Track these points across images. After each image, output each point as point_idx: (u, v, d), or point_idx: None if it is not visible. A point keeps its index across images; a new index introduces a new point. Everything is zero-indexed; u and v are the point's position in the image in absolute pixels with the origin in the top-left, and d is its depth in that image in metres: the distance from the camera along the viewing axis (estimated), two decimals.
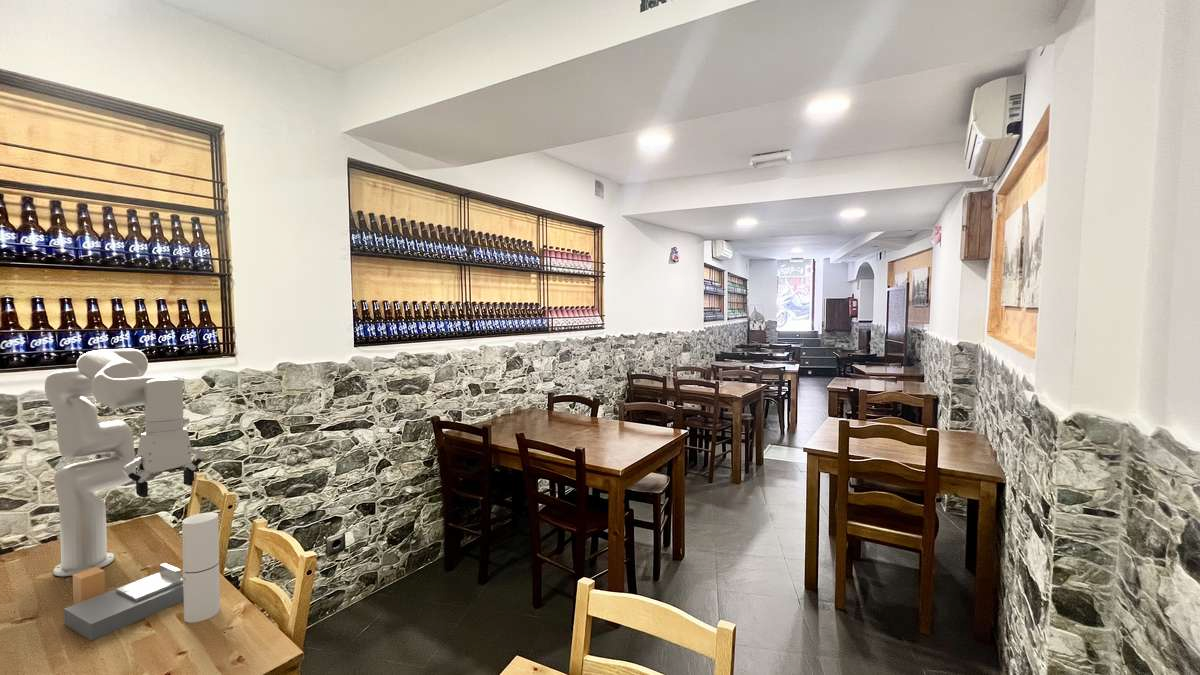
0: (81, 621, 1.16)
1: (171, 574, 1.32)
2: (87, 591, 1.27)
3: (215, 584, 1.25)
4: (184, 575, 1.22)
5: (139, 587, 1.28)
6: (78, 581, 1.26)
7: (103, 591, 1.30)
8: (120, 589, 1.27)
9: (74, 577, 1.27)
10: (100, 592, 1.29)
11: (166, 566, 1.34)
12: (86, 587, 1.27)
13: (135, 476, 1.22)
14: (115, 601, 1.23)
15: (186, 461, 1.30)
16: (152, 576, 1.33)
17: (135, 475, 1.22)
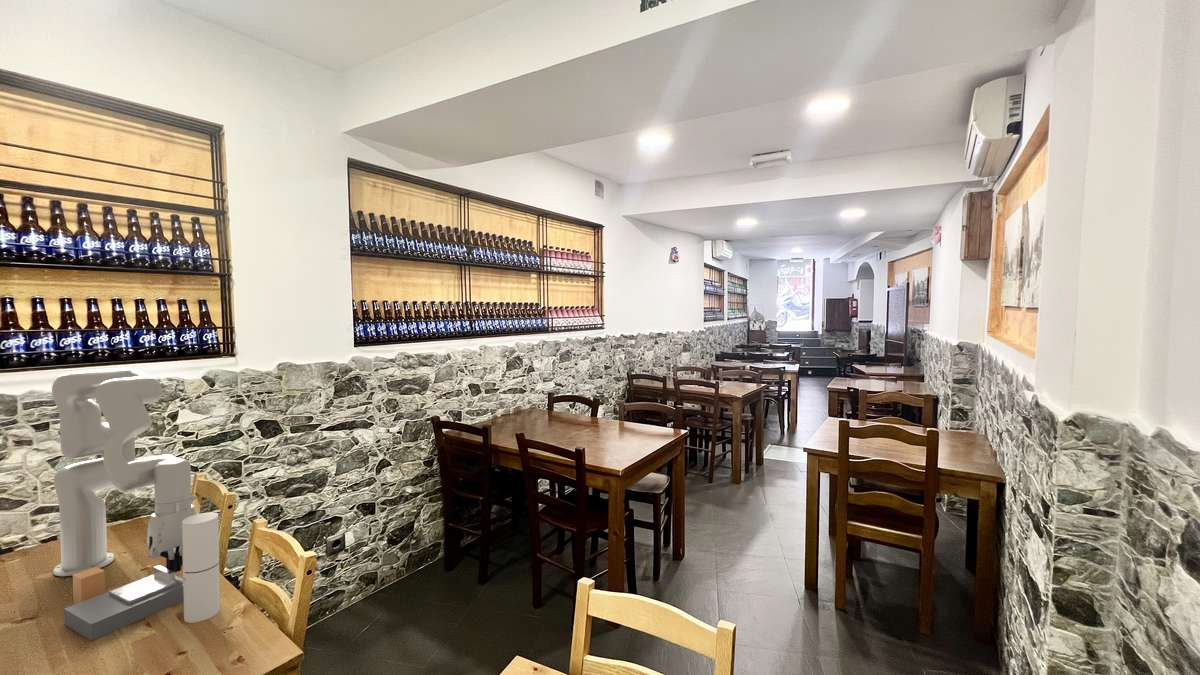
0: (81, 621, 1.16)
1: (165, 577, 1.31)
2: (87, 591, 1.27)
3: (215, 584, 1.25)
4: (184, 575, 1.22)
5: (133, 589, 1.27)
6: (78, 581, 1.27)
7: (103, 591, 1.30)
8: (113, 592, 1.26)
9: (74, 577, 1.27)
10: (100, 592, 1.30)
11: (160, 568, 1.33)
12: (86, 587, 1.27)
13: (166, 554, 1.32)
14: (115, 601, 1.23)
15: None
16: (146, 578, 1.32)
17: (166, 553, 1.32)
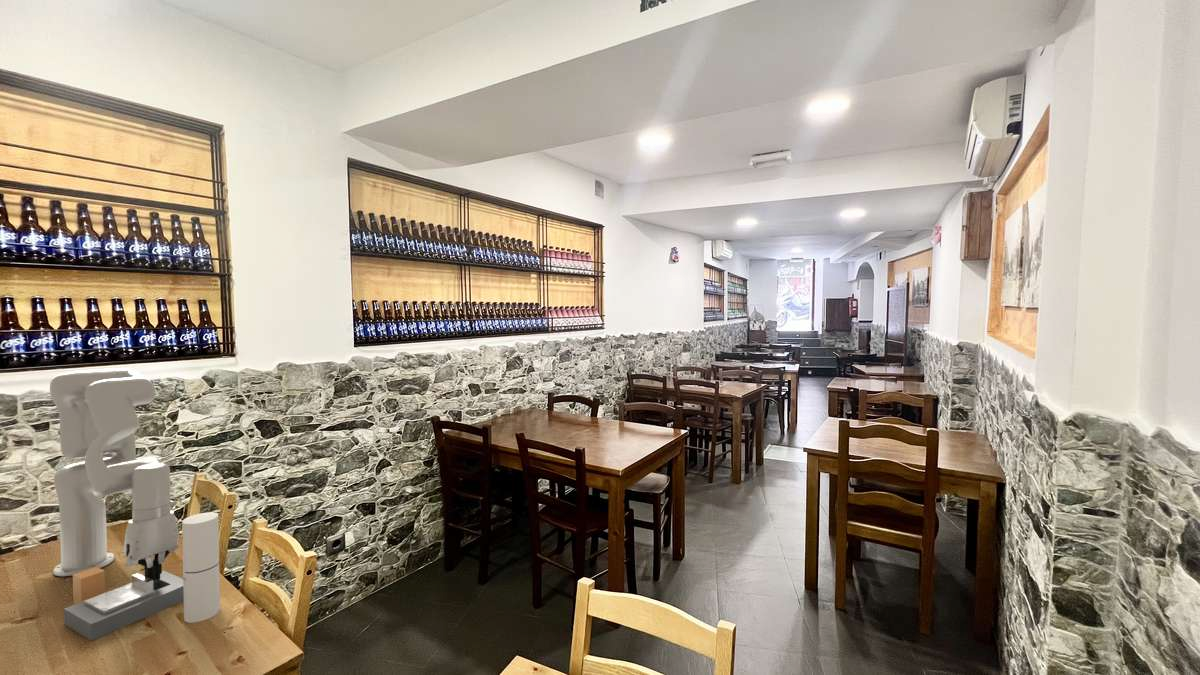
0: (81, 621, 1.16)
1: (143, 585, 1.27)
2: (87, 591, 1.27)
3: (215, 584, 1.25)
4: (184, 575, 1.22)
5: (109, 599, 1.23)
6: (78, 581, 1.27)
7: (103, 591, 1.30)
8: (88, 601, 1.21)
9: (74, 577, 1.27)
10: (100, 592, 1.30)
11: (138, 576, 1.29)
12: (86, 587, 1.27)
13: (144, 562, 1.28)
14: None
15: (173, 544, 1.32)
16: (123, 587, 1.28)
17: (144, 561, 1.28)
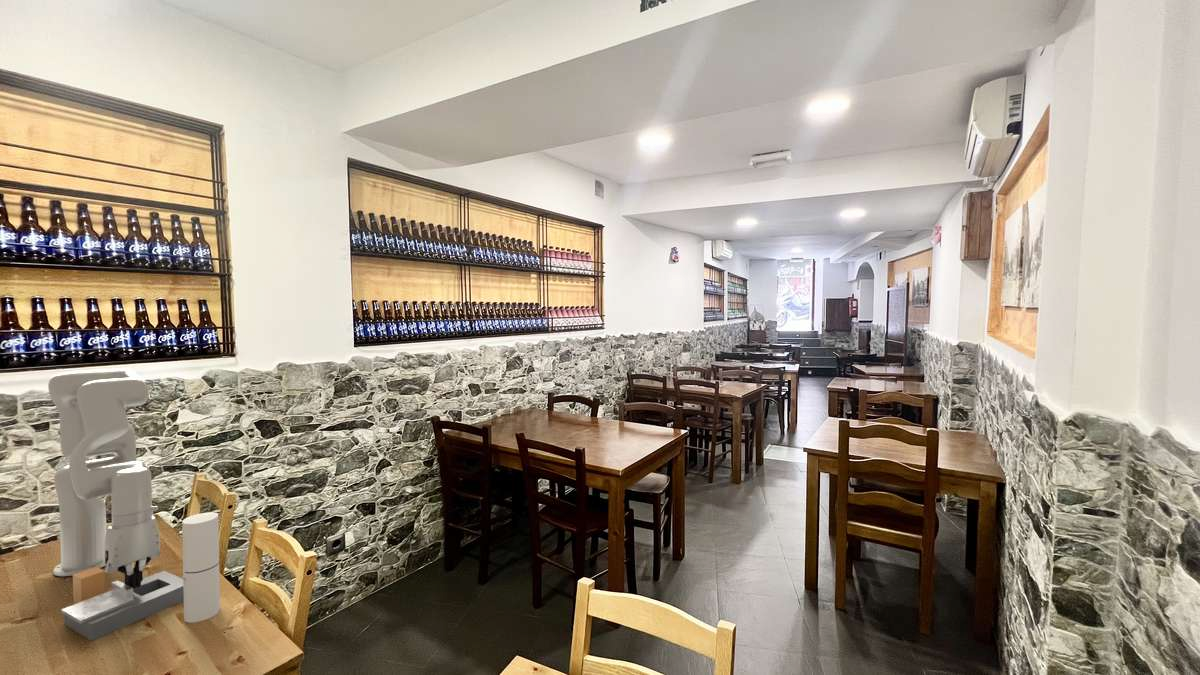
0: None
1: (122, 593, 1.23)
2: (87, 591, 1.27)
3: (215, 584, 1.25)
4: (184, 575, 1.22)
5: (87, 607, 1.19)
6: (78, 581, 1.27)
7: (103, 591, 1.30)
8: (65, 610, 1.18)
9: (74, 577, 1.27)
10: (100, 592, 1.30)
11: (118, 584, 1.25)
12: (86, 587, 1.27)
13: (124, 569, 1.24)
14: None
15: (154, 551, 1.29)
16: (103, 595, 1.24)
17: (124, 568, 1.24)
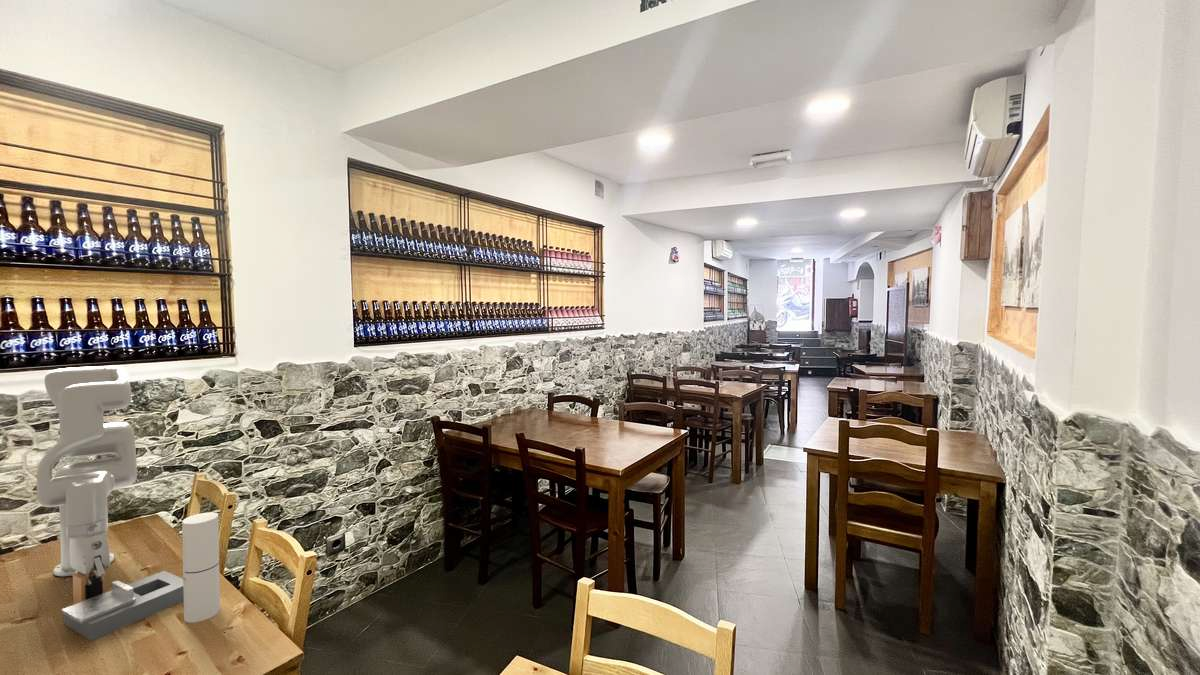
0: None
1: (123, 593, 1.23)
2: None
3: (215, 584, 1.25)
4: (184, 575, 1.22)
5: (87, 607, 1.19)
6: (78, 581, 1.26)
7: (103, 591, 1.30)
8: (66, 610, 1.18)
9: (74, 577, 1.27)
10: None
11: (118, 584, 1.25)
12: None
13: (76, 571, 1.30)
14: None
15: (84, 571, 1.25)
16: (103, 595, 1.24)
17: (76, 570, 1.30)
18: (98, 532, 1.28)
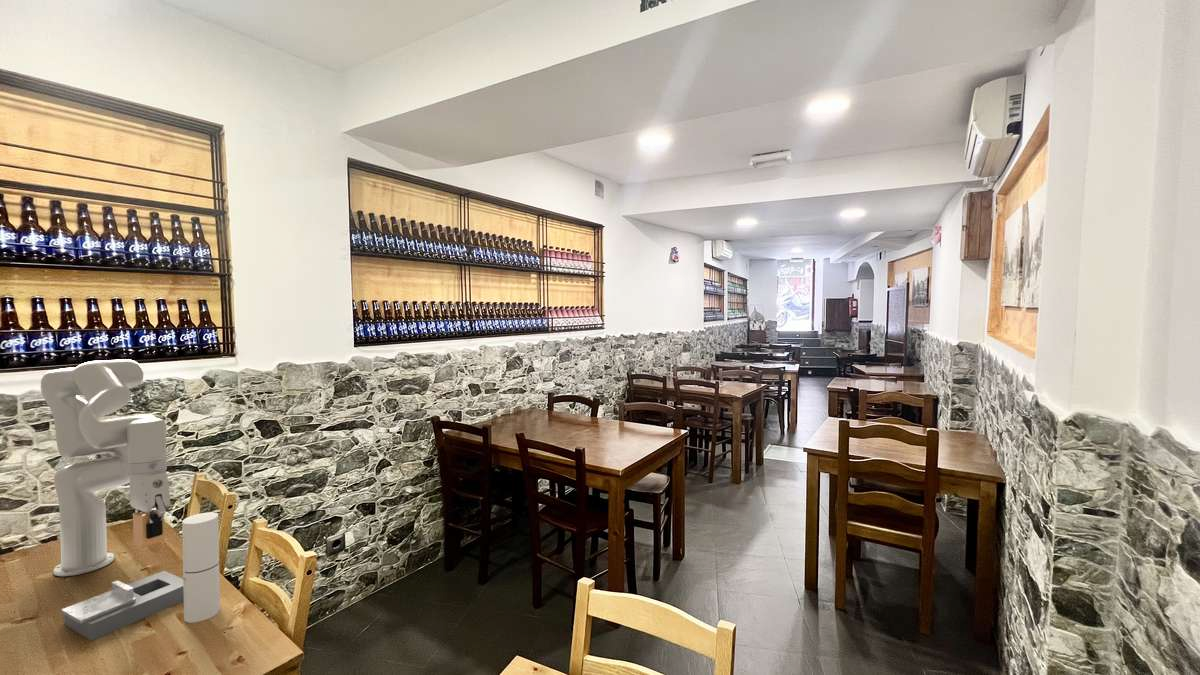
0: None
1: (123, 593, 1.23)
2: None
3: (215, 584, 1.25)
4: (184, 575, 1.22)
5: (87, 607, 1.19)
6: (139, 519, 1.26)
7: None
8: (66, 610, 1.18)
9: (134, 516, 1.27)
10: None
11: (118, 584, 1.25)
12: None
13: None
14: None
15: (145, 509, 1.25)
16: (103, 595, 1.24)
17: None
18: (158, 471, 1.28)
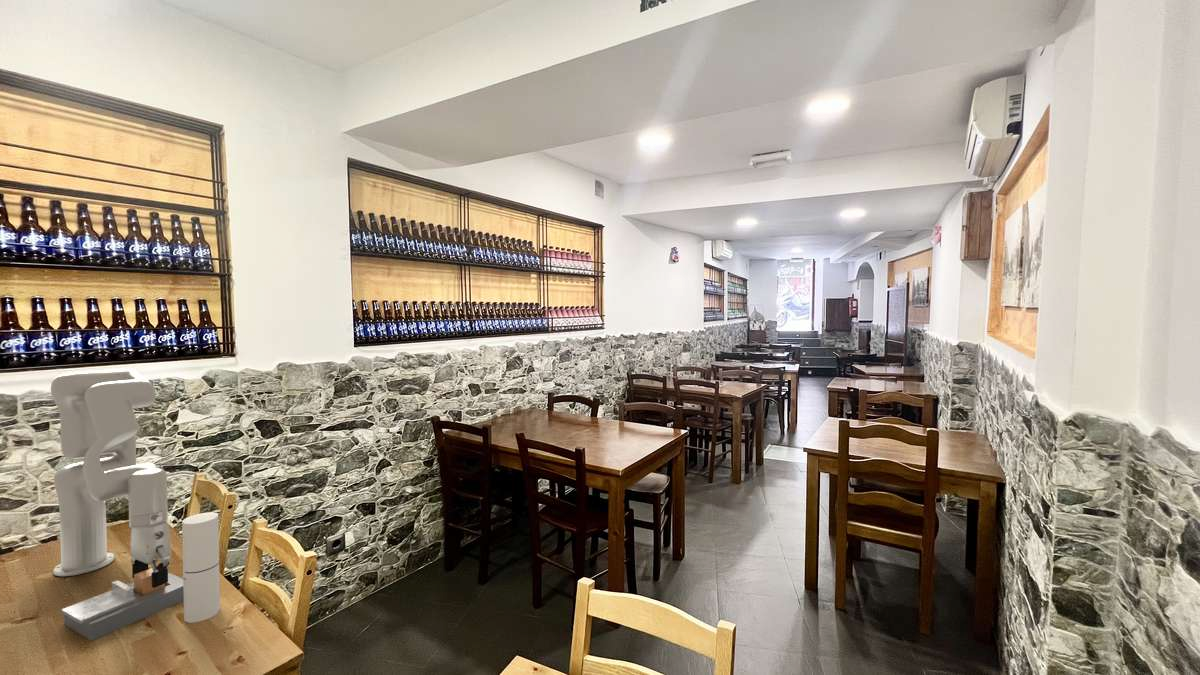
0: None
1: (123, 593, 1.23)
2: (148, 590, 1.28)
3: (215, 584, 1.25)
4: (184, 575, 1.22)
5: (87, 607, 1.19)
6: (140, 581, 1.27)
7: None
8: (66, 610, 1.18)
9: (135, 577, 1.28)
10: None
11: (118, 584, 1.25)
12: (148, 587, 1.28)
13: None
14: None
15: (146, 561, 1.26)
16: (103, 595, 1.24)
17: None
18: (160, 522, 1.28)
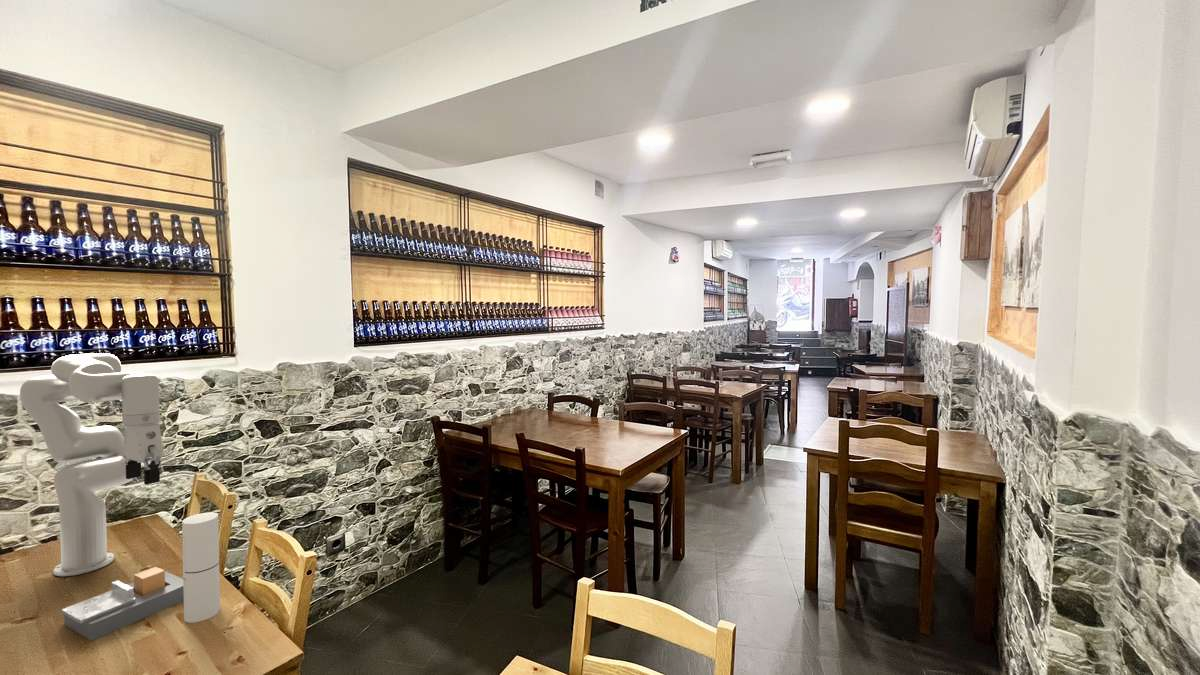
0: None
1: (123, 593, 1.23)
2: (148, 590, 1.28)
3: (215, 584, 1.25)
4: (184, 575, 1.22)
5: (87, 607, 1.19)
6: (140, 581, 1.27)
7: None
8: (66, 610, 1.18)
9: (135, 577, 1.28)
10: None
11: (118, 584, 1.25)
12: (148, 587, 1.28)
13: (126, 457, 1.37)
14: None
15: (139, 458, 1.32)
16: (103, 595, 1.24)
17: (126, 456, 1.37)
18: (152, 423, 1.34)
